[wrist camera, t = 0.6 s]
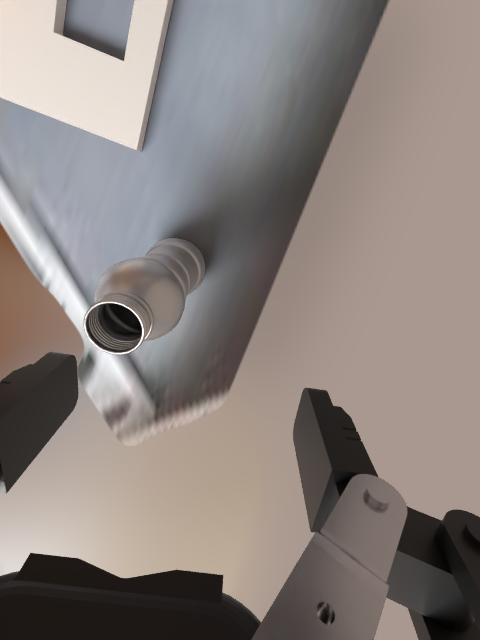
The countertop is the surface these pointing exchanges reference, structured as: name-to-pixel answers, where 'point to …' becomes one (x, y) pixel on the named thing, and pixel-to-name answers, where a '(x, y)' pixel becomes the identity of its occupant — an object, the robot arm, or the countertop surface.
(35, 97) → the white square board
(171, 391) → the countertop surface
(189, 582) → the robot arm
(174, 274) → the plastic bottle
